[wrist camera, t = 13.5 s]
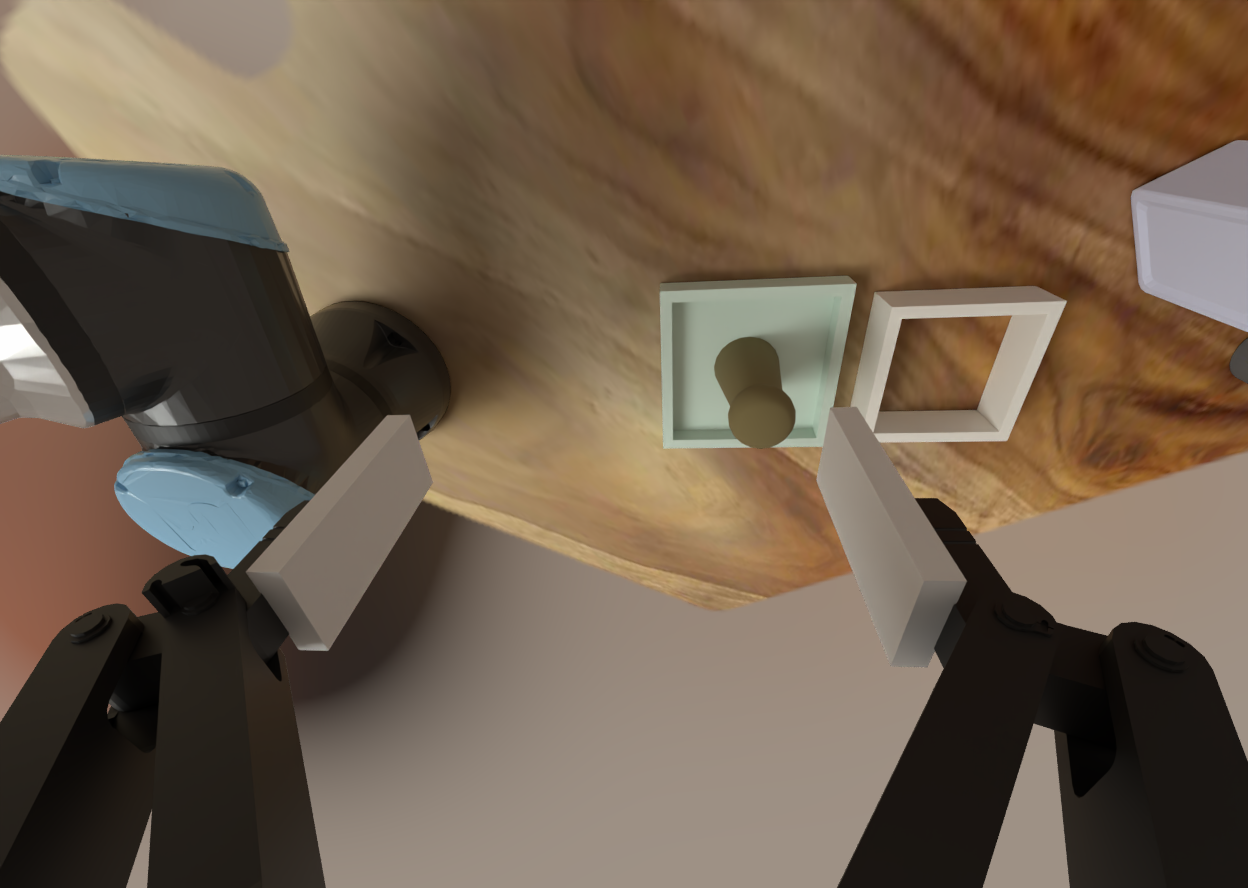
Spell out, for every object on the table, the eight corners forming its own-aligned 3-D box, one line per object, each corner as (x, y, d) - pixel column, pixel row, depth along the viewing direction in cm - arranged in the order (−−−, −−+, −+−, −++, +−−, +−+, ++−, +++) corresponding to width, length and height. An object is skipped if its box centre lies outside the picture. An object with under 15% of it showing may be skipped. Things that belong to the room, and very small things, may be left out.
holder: (847, 420, 51) (859, 442, 48) (874, 291, 44) (891, 307, 40) (984, 418, 50) (1006, 441, 46) (1035, 285, 42) (1067, 301, 39)
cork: (784, 385, 49) (811, 450, 39) (722, 401, 50) (734, 467, 41) (773, 328, 45) (799, 384, 36) (707, 347, 47) (716, 405, 38)
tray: (663, 435, 53) (663, 448, 51) (660, 283, 45) (659, 291, 43) (819, 433, 52) (825, 446, 50) (847, 275, 43) (856, 283, 41)
